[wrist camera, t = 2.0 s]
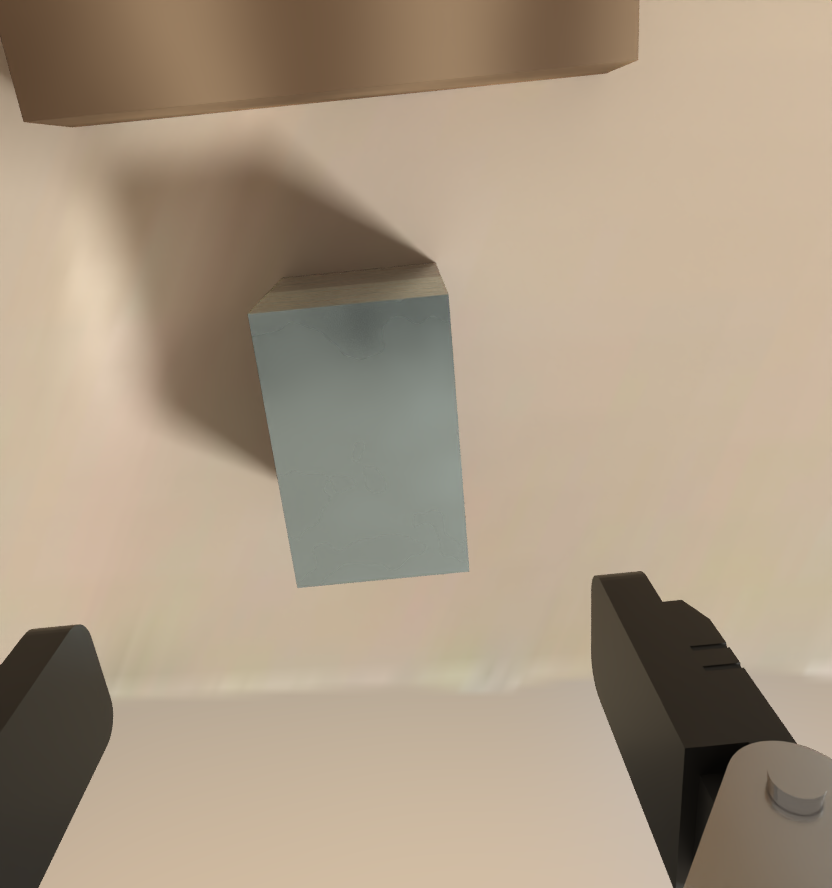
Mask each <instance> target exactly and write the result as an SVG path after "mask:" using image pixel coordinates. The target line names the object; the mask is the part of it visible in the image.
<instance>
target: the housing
mask: <svg viewBox="0 0 832 888" xmlns="http://www.w3.org/2000/svg"><path fill="white" fill-rule="evenodd" d="M248 319H249V325H250V330H251V335H252V341H253V346H254V352H255V357H256V363H257V368H258V374H259V379H260V385H261V390H262V396H263V401H264V407H265V412H266V418H267V423H268V429H269V434H270V440H271V445H272V451H273V456H274V462H275V467H276V473H277V478H278V484H279V489H280V495H281V500H282V506H283V511H284V517H285V522H286V528H287V533H288V539H289V544H290V550H291V555H292V561H293V566H294V572H295V577H296V583H297V588H302V587H312V586H323V585H333V584H343V583H354V582H364V581H375V580H385V579H396V578H406V577H417V576H427V575H438V574H448V573H459V572H469V561H468V548H467V535H466V521H465V508H464V495H463V482H462V468H461V455H460V442H459V429H458V415H457V402H456V389H455V376H454V362H453V349H452V336H451V323H450V309H449V296H448V292H447V290H446V287H445V285H444V282H443V280H442V277H441V275H440V273H439V270H438V268H437V265H436V263H427V264H417V265H407V266H396V267H386V268H376V269H366V270H356V271H346V272H336V273H326V274H316V275H306V276H296V277H286V278H282V279H281V280H280V281H279V282H278V283H277V284H276V285H275V286H274V287H273V288H272V289H271V290H270V291H269V292H268V293H267V294H266V295H265V297H264V298H263V299H262V300H261V301H260V302H259V303H258V304H257V305H256V306H255V307H254V308H253V309H252V310H251V311H250V312H249V313H248Z"/></svg>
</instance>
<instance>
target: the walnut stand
mask: <svg viewBox="0 0 832 888" xmlns="http://www.w3.org/2000/svg"><path fill="white" fill-rule="evenodd" d="M0 37H1V40H2V44H3V48H4V51H5V55H6V59H7V62H8V66H9V70H10V73H11V77H12V81H13V84H14V88H15V92H16V95H17V99H18V103H19V106H20V110H21V114H22V117H23V121H24V122H29V123H38V124H47V125H56V126H65V127H80V126H90V125H100V124H109V123H119V122H129V121H139V120H149V119H159V118H169V117H179V116H189V115H199V114H209V113H218V112H228V111H238V110H248V109H258V108H268V107H278V106H288V105H298V104H308V103H318V102H328V101H337V100H347V99H357V98H367V97H377V96H387V95H397V94H407V93H417V92H427V91H437V90H447V89H456V88H466V87H476V86H486V85H496V84H506V83H516V82H526V81H536V80H546V79H556V78H565V77H575V76H585V75H595V74H605V73H608V72H610V71H613V70H615V69H618V68H620V67H622V66H625V65H627V64H629V63H632V62H634V61H637V60H638V37H639V0H0Z"/></svg>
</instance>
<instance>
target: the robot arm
mask: <svg viewBox="0 0 832 888" xmlns="http://www.w3.org/2000/svg"><path fill="white" fill-rule="evenodd" d="M591 659H592V669H593V676H594V681H595V686H596V690H597V693H598V696H599V699H600V702H601V704H602V707H603V709H604V712H605V714H606V717H607V720H608V722H609V725H610V727H611V730H612V732H613V735H614V737H615V740H616V743H617V745H618V748H619V750H620V753H621V755H622V758H623V760H624V763H625V766H626V768H627V771H628V773H629V776H630V778H631V781H632V783H633V786H634V789H635V791H636V794H637V796H638V798H639V801H640V804H641V806H642V809H643V812H644V814H645V817H646V819H647V822H648V824H649V827H650V829H651V832H652V834H653V837H654V839H655V842H656V844H657V847H658V850H659V852H660V855H661V857H662V860H663V863H664V865H665V868H666V870H667V873H668V875H669V878H670V880H671V883H672V886H673V888H832V759H831V758H829V757H828V756H826V755H823V754H822V753H820V752H818V751H816V750H813V749H811V748H808V747H806V746H802V745H799V744H797V743H796V742H795V740H794V739H793V737H792V736H791V735H790V733H789V732H788V730H787V729H786V727H785V726H784V724H783V723H782V722H781V720H780V719H779V717H778V716H777V715H776V713H775V712H774V710H773V709H772V707H771V706H770V705H769V703H768V702H767V700H766V699H765V697H764V696H763V695H762V693H761V692H760V690H759V689H758V688H757V686H756V685H755V683H754V682H753V680H752V679H751V677H750V676H749V675H748V673H747V672H746V670H745V669H744V668H741V666H740V662H739V660H738V659H737V657H736V656H735V655H734V653H733V652H732V650H731V649H730V647H729V648H727V646H726V642H725V640H724V639H723V637H722V636H721V635H720V633H719V632H718V630H717V629H716V628H715V626H714V625H713V623H712V622H711V620H710V619H709V618H707V617H706V616H704V615H703V614H702V613H700V612H699V611H697V610H696V609H694V608H693V607H691V606H690V605H688V604H687V603H685V602H684V601H683V600H677V601H666V602H662V600H661V599H660V597H659V596H658V594H657V592H656V591H655V589H654V588H653V586H652V584H651V583H650V581H649V580H648V578H647V576H646V575H645V574H644V573H643V572H642V571H638V572H628V573H617V574H607V575H597V576H594V577H593V580H592V587H591ZM112 725H113V707H112V702H111V698H110V695H109V692H108V688H107V685H106V682H105V679H104V676H103V673H102V670H101V666H100V663H99V660H98V657H97V654H96V651H95V647H94V644H93V641H92V638H91V635H90V633H89V631H88V630H87V628H86V627H85V626H83V625H69V626H58V627H48V628H38V629H31V630H29V631H28V632H26V633H25V635H24V636H23V637H22V638H21V640H20V641H19V642H18V643H17V645H16V646H15V647H14V649H13V650H12V651H11V652H10V654H9V655H8V656H7V658H6V659H5V660H4V662H3V663H2V664H1V665H0V888H38V887H39V885H40V883H41V881H42V879H43V877H44V875H45V873H46V871H47V869H48V867H49V865H50V863H51V860H52V858H53V856H54V854H55V852H56V850H57V848H58V846H59V844H60V842H61V840H62V838H63V836H64V833H65V831H66V829H67V827H68V825H69V823H70V821H71V819H72V817H73V815H74V813H75V811H76V809H77V807H78V805H79V802H80V800H81V798H82V796H83V794H84V792H85V790H86V788H87V786H88V784H89V782H90V780H91V778H92V775H93V774H94V772H95V770H96V767H97V765H98V763H99V761H100V759H101V757H102V755H103V753H104V751H105V749H106V747H107V744H108V742H109V739H110V736H111V731H112Z"/></svg>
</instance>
